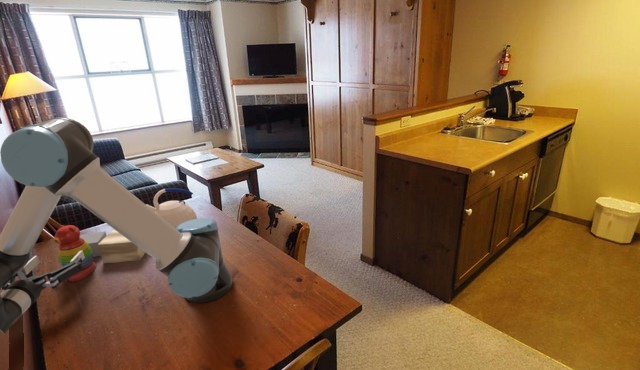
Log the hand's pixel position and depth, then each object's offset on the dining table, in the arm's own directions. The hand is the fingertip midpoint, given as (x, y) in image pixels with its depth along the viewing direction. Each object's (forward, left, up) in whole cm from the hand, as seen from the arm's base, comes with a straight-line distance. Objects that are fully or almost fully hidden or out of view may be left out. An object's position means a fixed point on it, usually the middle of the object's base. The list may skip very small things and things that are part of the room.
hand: (60, 256), depth 111 cm
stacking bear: (+6, -1, -10) cm, 12 cm away
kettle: (+35, -26, -10) cm, 45 cm away
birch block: (+16, -14, -10) cm, 23 cm away
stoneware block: (+20, +1, -10) cm, 22 cm away
